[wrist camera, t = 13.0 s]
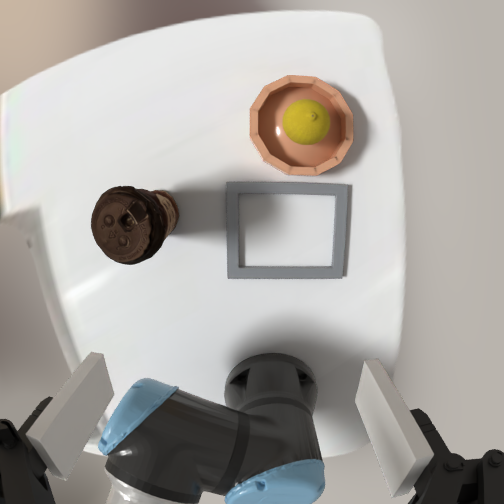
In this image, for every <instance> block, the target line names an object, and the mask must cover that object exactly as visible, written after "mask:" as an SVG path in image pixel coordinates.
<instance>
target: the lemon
mask: <svg viewBox="0 0 504 504" xmlns="http://www.w3.org/2000/svg"><path fill="white" fill-rule="evenodd" d="M282 125H283V129H284V131H285V133H286V135H287V136H288V137H289V138H290V139H291V140H292V141H294V142H295V143H298V144H300V145H313V144H315V143H318V142H319V141H321V140H322V139H323V138H324V137H325V136H326V135H327V133H328V130H329V128H330V116H329V114H328V111H327V110H326V108H325V107H324V106H323V105H322V104H321V103H319V102H317V101H315V100H311V99H302V100H298V101H296V102H294V103H292V104H291V105H290V106H289V107H288V108H287V109H286V111H285V112H284V115H283V119H282Z"/></svg>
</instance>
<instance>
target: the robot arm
mask: <svg viewBox="0 0 504 504" xmlns="http://www.w3.org/2000/svg"><path fill="white" fill-rule="evenodd" d="M113 396H114V391H113V388H112V384H111V381H110V377H109V374H108V370H107V367H106V363H105V359H104V355H103V354H101V353H94V352H91V353H90V354H89V355H88V356H87V357H86V359H85V360H84V361H83V362H82V363H81V365H80V366H79V367H78V368H77V369H76V371H75V372H74V373H73V374H72V376H71V377H70V378H69V379H68V380H67V382H66V383H65V384H64V385H63V387H62V388H61V389H60V390H59V392H58V393H57V394H56V395H55V397H54V398H53V397H48V398H46V399H44V400H43V401H42V402H40V404H39V405H38V406H37V407H36V410H34V411H33V413H32V415H30V416H29V417H28V419H27V420H26V421H25V422H24V424H23V425H22V426H21V428H20V429H19V430H18V431H17V430H16V429H15V427H14V425H13V423H12V422H11V421H9V420H7V419H0V504H55V501H54V498H53V495H52V491H51V488H50V485H49V482H48V478H47V476H46V474H45V471H46V469H47V468H48V469H49V471H50V472H51V474H52V475H53V476H56V477H58V478H61V479H63V480H67V478H68V477H69V475H70V473H71V471H72V469H73V467H74V465H75V464H76V462H77V460H78V458H79V456H80V454H81V452H82V451H83V449H84V447H85V445H86V443H87V442H88V440H89V438H90V436H91V434H92V433H93V431H94V429H95V427H96V425H97V424H98V422H99V420H100V418H101V417H102V415H103V413H104V411H105V410H106V408H107V406H108V404H109V403H110V401H111V399H112V398H113ZM224 397H225V403H226V406H227V407H226V406H223V405H220V404H217V403H214V402H211V401H209V400H206V399H203V398H200V397H198V396H195V395H192V394H190V393H187V392H185V391H182V390H179V387H177V386H174V387H173V386H170V385H167V384H164V383H162V382H159V381H156V380H154V379H150V378H144V379H140V380H138V381H137V382H136V383H135V384H133V385H132V387H131V388H130V389H129V390H128V392H127V393H126V394H125V396H124V397H123V398H122V400H121V401H120V403H119V405H118V406H117V408H116V409H115V411H114V413H113V414H112V416H111V418H110V420H109V421H108V423H107V425H106V427H105V429H104V431H103V434H102V437H101V440H100V441H99V444H98V448H99V450H100V451H101V452H102V453H103V455H106V456H107V455H108V460H107V462H106V465H105V468H104V470H105V472H106V474H107V476H108V477H109V479H110V481H111V483H112V487H111V490H110V493H109V496H108V499H107V502H106V504H198V503H199V500H200V497H201V494H202V492H203V491H207V492H211V493H215V494H219V495H223V496H225V503H226V504H312V503H313V502H315V501H316V500H317V499H318V498H319V497H320V496H321V494H322V493H323V491H324V488H325V477H324V463H323V461H322V456H321V452H320V448H319V443H318V439H317V435H316V431H315V426H314V422H313V418H312V415H313V411H314V407H315V403H316V398H317V385H316V381H315V378H314V375H313V373H312V371H311V370H310V368H309V367H308V366H307V365H306V364H305V363H303V362H302V361H300V360H298V359H297V358H294V357H292V356H288V355H284V354H275V353H271V354H261V355H257V356H254V357H251V358H248V359H246V360H244V361H243V362H241V363H240V364H238V365H237V366H236V367H235V368H234V369H233V370H232V371H231V372H230V374H229V376H228V378H227V380H226V385H225V393H224ZM355 403H356V406H357V408H358V411H359V413H360V416H361V418H362V421H363V423H364V426H365V428H366V431H367V433H368V436H369V439H370V441H371V444H372V446H373V449H374V451H375V454H376V457H377V459H378V462H379V465H380V467H381V470H382V473H383V475H384V478H385V481H386V484H387V486H388V489H389V492H390V495H391V497H392V498H393V497H397V496H401V495H404V494H407V493H409V492H410V490H411V489H412V488H413V486H414V487H415V490H416V494H415V495H414V496H413V498H412V499H411V500H410V502H409V503H408V504H504V453H503V452H502V451H500V450H496V449H494V450H489V451H488V452H486V453H485V455H484V456H483V457H482V458H481V459H471V460H465V459H464V458H463V457H462V456H460V455H458V454H455V453H451V452H450V451H449V449H448V448H447V446H446V445H445V443H444V441H443V440H442V438H441V436H440V434H439V433H438V431H437V430H436V428H435V426H434V425H433V424H432V422H431V420H430V418H429V417H428V415H427V414H426V413H424V412H423V411H422V410H420V409H414V410H409V409H408V407H407V406H406V404H405V402H404V400H403V399H402V397H401V395H400V394H399V392H398V390H397V389H396V387H395V385H394V384H393V382H392V380H391V379H390V377H389V375H388V374H387V372H386V371H385V369H384V367H383V366H382V364H381V362H380V361H379V359H372V360H364V364H363V369H362V373H361V378H360V382H359V386H358V390H357V394H356V398H355Z"/></svg>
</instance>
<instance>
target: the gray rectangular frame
mask: <svg viewBox="0 0 504 504" xmlns="http://www.w3.org/2000/svg"><path fill="white" fill-rule="evenodd" d="M238 194H307V195H335V219H334V238H333V254H332V267H239V212H238ZM347 198H348V185H342V184H321V183H291V182H227V272H228V279H342V276H343V264H344V252H345V238H346V221H347Z"/></svg>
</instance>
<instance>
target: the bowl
mask: <svg viewBox="0 0 504 504" xmlns="http://www.w3.org/2000/svg"><path fill="white" fill-rule="evenodd" d="M302 99H311V100H315V101H317V102H319V103H321V104H322V105H323V106H324V107H325V108H326V110H327V111H328V114H329V116H330V128H329V130H328V133H327V135H326V136H325V137H324V138H323V139H322V140H321V141H319V142H318V143H315V144H313V145H300V144H298V143H295V142H294V141H292V140H291V139H290V138H289V137H288V136H287V135H286V133H285V131H284V129H283V125H282V119H283V115H284V112H285V111H286V109H287V108H288V107H289V106H290V105H291V104H292V103H294V102H296V101H298V100H302ZM250 140H251V141H252V143H253V145H254V146H255V148H256V150H257V151H258V153H259V155H260V156H261V158H262V160H263V161H264V162H265V163H267V164H269V165H271V166H272V167H274V168H276V169H277V170H279V171H281V172H282V173H284V174H286V175H307V176H316V175H319V174H321V173H323V172H325V171H326V170H328V169H330V168H332V167H334V166H336V165H338V164H340V163H341V161H342V159H343V158H344V156H345V154H346V153H347V151H348V149H349V148H350V146H351V144H352V142H353V115H352V112H351V110H350V109H349V107H348V105H347V104H346V102H345V100H344V98H343V97H342V95H341V94H340V92H339V91H338V90H336V89H335V88H333V87H331V86H330V85H328V84H327V83H325V82H323V81H322V80H320V79H318V78H317V77H316V78H315V77H311V76H296V75H289V76H288V75H287V76H285V77H283V78H281V79H279V80H277V81H275V82H273V83H270V84H268V85H266V86H264V88H263V89H262V91H261V92H260V94H259V95H258V97H257V98H256V100H255V102H254V103H253V105H252V106H251V108H250Z"/></svg>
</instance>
